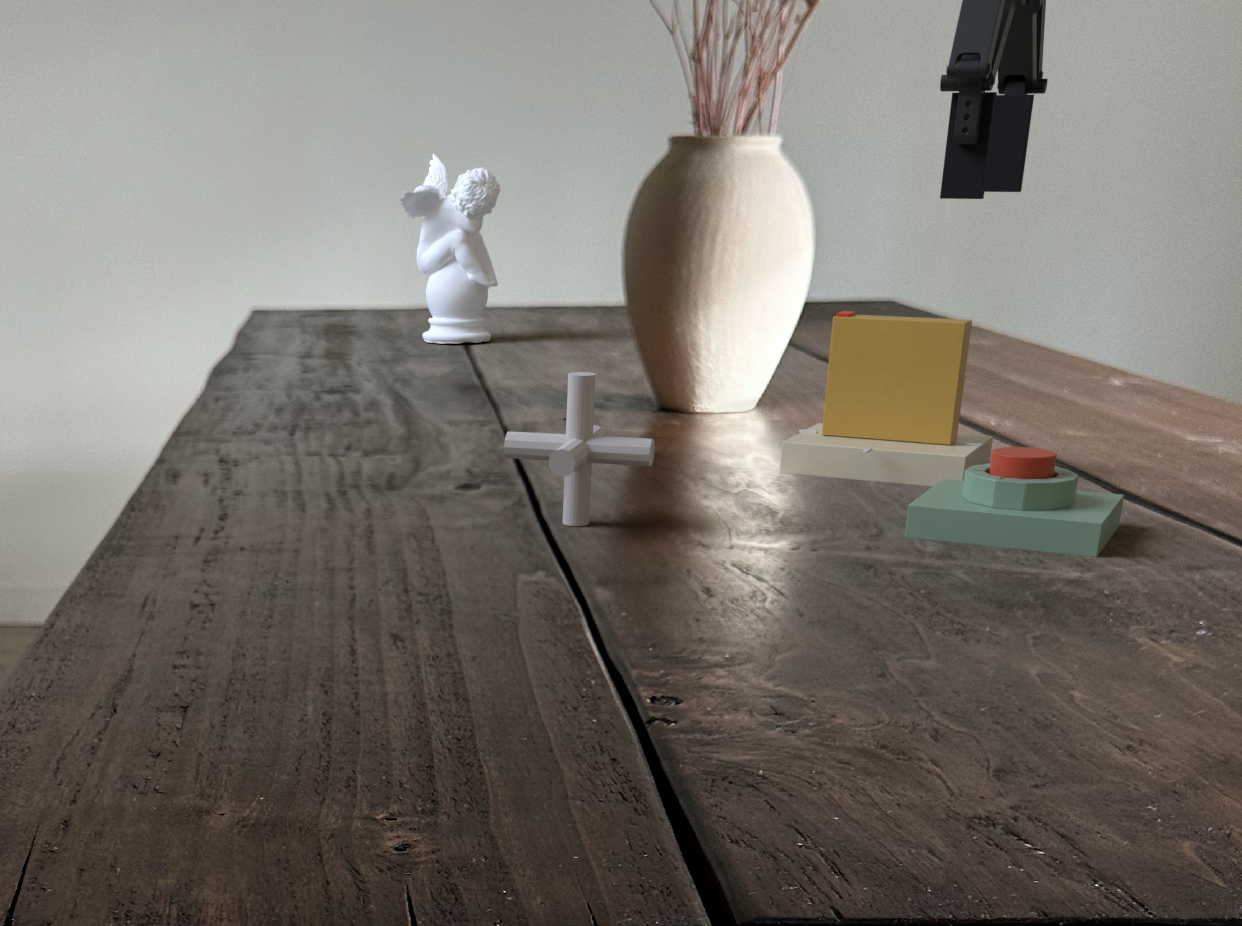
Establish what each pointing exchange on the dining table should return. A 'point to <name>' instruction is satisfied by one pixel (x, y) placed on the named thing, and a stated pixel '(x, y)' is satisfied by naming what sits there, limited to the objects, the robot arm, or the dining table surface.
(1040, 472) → the button
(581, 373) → the pipe connector
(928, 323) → the tan flat block
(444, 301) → the cherub figurine
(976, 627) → the dining table surface
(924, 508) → the button box
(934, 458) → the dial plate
